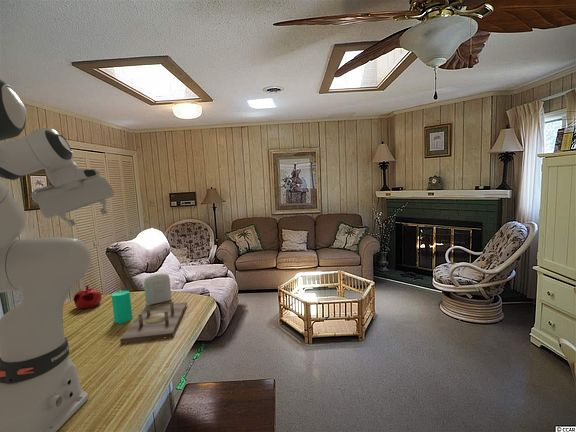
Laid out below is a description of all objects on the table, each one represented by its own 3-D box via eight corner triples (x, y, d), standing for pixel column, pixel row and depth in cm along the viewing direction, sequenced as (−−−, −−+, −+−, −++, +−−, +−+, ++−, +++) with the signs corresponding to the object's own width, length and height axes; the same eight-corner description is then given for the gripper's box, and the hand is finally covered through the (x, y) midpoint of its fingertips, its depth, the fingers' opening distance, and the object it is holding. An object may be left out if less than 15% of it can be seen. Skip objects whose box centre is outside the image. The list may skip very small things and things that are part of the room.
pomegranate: (85, 302, 134) (83, 282, 133) (107, 301, 133) (105, 281, 132) (68, 311, 124) (65, 289, 123) (91, 310, 123) (89, 288, 123)
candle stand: (172, 337, 98) (171, 321, 97) (120, 343, 95) (118, 327, 95) (186, 305, 123) (185, 293, 123) (146, 310, 121) (144, 297, 120)
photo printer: (170, 297, 134) (167, 270, 132) (172, 300, 130) (170, 272, 129) (145, 303, 128) (142, 275, 127) (146, 306, 125) (144, 278, 123)
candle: (126, 323, 110) (123, 291, 109) (111, 323, 110) (107, 292, 109) (135, 315, 116) (132, 286, 115) (120, 316, 116) (117, 286, 115)
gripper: (27, 188, 85) (52, 231, 87) (103, 168, 98) (123, 206, 100) (28, 193, 90) (51, 234, 92) (100, 173, 103) (119, 209, 105)
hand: (89, 219), depth 96 cm, fingers open, 8 cm apart
